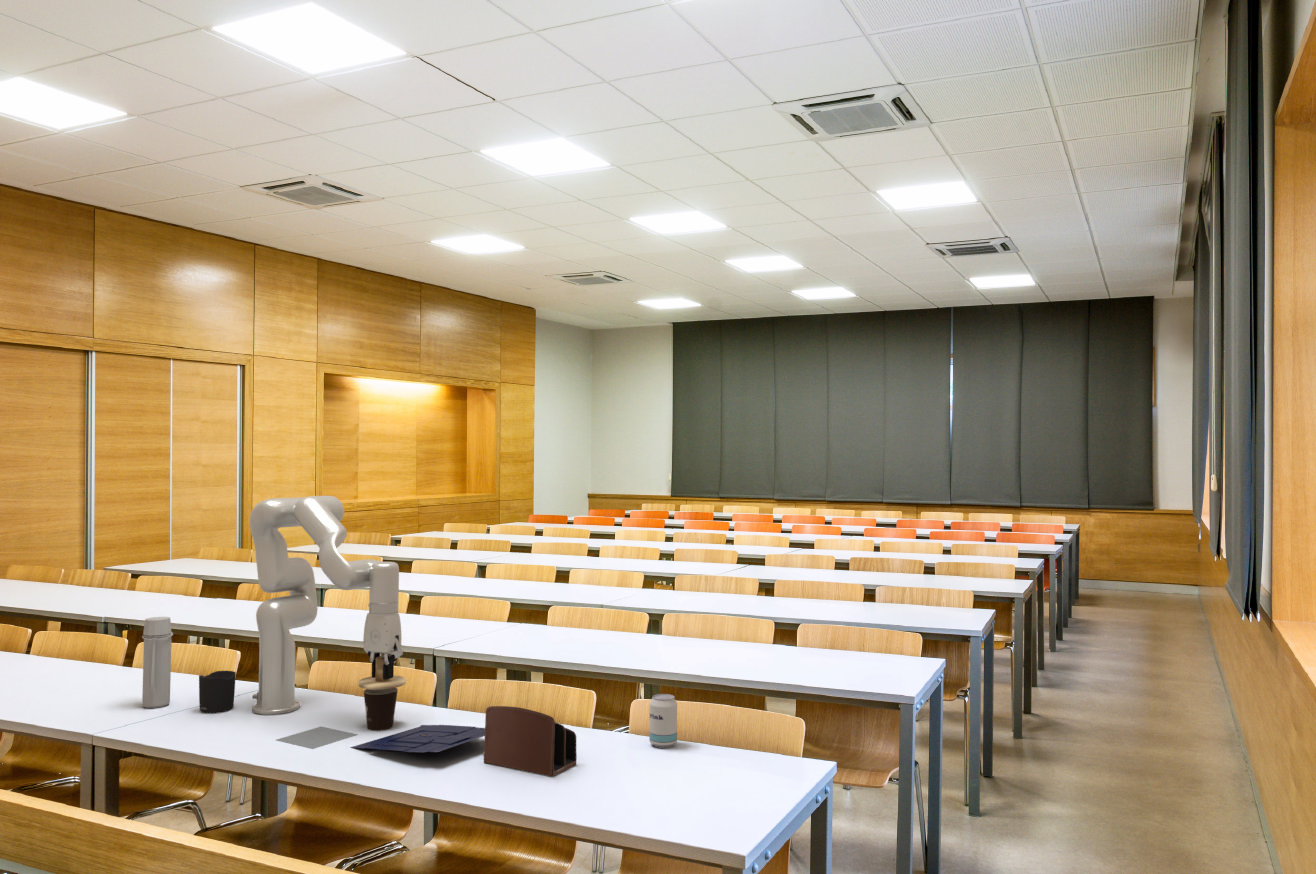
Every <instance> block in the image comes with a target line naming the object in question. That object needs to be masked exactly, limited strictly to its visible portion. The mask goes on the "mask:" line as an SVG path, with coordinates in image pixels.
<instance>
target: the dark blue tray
mask: <svg viewBox="0 0 1316 874" xmlns="http://www.w3.org/2000/svg"><path fill="white" fill-rule="evenodd" d="M483 737H485V727H477V726H469V725H452V724H451V725H450V724H421V725H419V726H417V727H413V728H410V729H407V730H403V731H400V732H397V733H394V734H391V735H386V736H384V737H383V736H382V737H380V738H378V739H373V740H370V741H367V742H364V743H360V744H357V745H354V746H350V748H352V749H372V750H384V751H399V752H401V753H402V752H403V753H426V752H427V753H428V752H430V753H438V752H442V751H445V750H448V749H450V748H454V747H456V746H459V745H462V744H465V743H467V742H471V741H474V740H477V739H480V738H483Z"/></svg>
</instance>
